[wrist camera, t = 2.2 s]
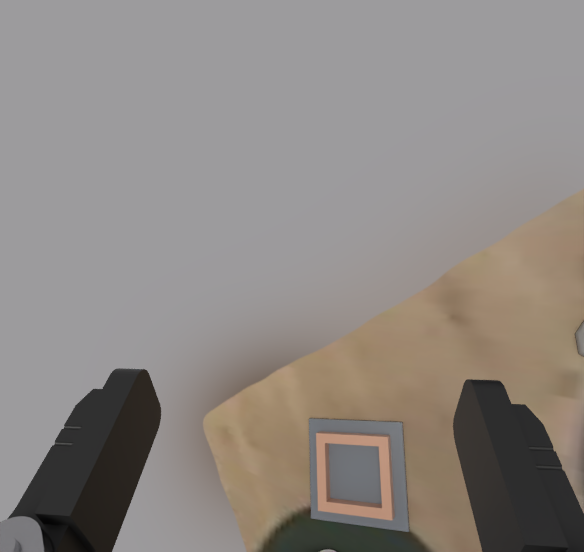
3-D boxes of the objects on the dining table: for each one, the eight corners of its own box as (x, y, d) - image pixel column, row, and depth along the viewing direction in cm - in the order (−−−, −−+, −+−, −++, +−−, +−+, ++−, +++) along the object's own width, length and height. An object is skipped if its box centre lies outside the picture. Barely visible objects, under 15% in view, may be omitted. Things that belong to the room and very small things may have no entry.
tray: (409, 530, 65) (406, 536, 63) (312, 517, 72) (306, 522, 69) (402, 421, 69) (399, 424, 66) (310, 418, 75) (304, 420, 72)
